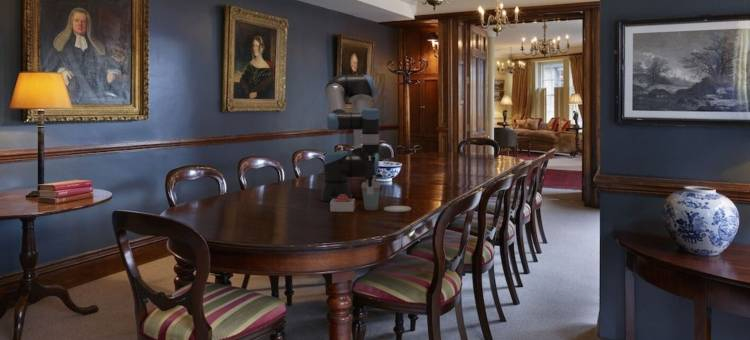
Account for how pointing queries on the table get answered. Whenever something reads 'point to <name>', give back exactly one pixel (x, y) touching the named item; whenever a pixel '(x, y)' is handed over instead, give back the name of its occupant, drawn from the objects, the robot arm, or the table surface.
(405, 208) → the pad
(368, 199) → the coffee cup
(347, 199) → the dome plunger
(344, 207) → the popper housing
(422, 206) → the table surface
